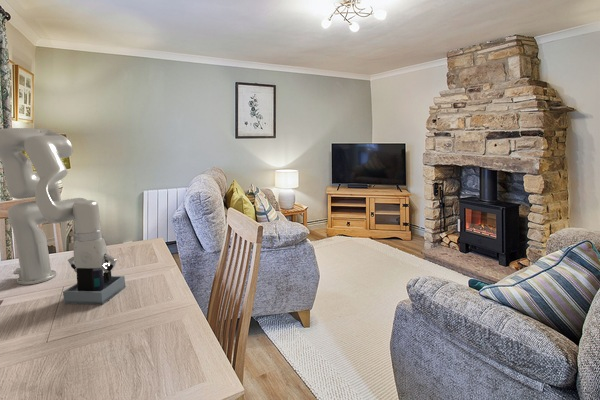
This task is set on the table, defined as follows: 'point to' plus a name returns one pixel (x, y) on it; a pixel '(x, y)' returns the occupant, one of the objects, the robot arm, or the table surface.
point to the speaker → (89, 279)
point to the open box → (95, 293)
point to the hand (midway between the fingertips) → (95, 281)
